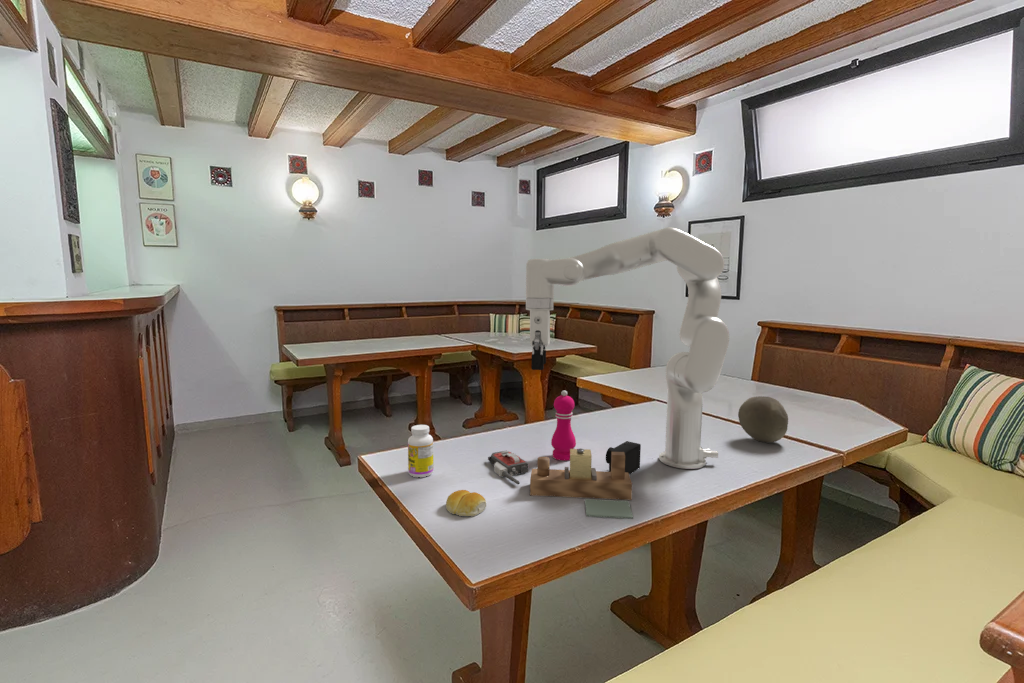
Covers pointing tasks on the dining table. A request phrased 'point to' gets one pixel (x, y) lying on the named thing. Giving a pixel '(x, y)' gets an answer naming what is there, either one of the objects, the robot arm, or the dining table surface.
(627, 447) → the digital camera
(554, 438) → the pepper mill
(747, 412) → the cantaloupe
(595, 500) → the felt pad
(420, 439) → the supplement bottle
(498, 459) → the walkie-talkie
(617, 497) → the plane body
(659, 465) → the dining table surface
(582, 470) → the lever cap
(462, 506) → the bread roll
